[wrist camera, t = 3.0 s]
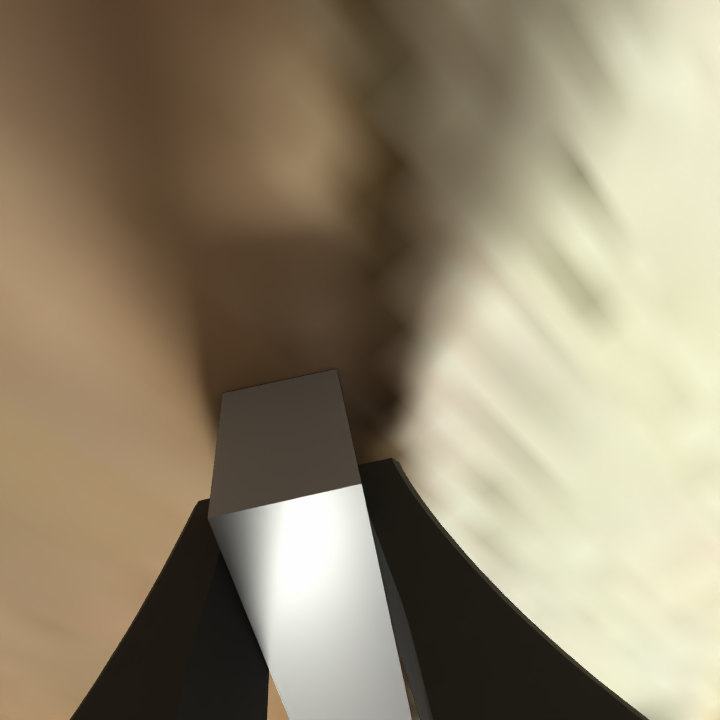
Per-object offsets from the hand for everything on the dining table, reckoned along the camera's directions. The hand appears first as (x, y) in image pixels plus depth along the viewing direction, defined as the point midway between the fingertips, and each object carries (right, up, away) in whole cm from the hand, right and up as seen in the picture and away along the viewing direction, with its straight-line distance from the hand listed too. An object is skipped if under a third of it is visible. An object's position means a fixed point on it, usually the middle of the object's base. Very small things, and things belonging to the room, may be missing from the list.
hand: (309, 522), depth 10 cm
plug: (+1, -6, +5) cm, 8 cm away
